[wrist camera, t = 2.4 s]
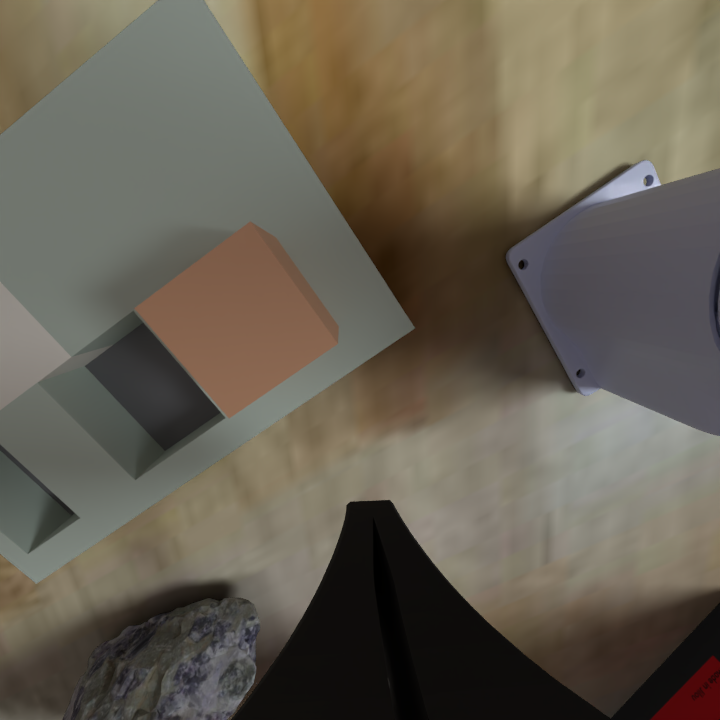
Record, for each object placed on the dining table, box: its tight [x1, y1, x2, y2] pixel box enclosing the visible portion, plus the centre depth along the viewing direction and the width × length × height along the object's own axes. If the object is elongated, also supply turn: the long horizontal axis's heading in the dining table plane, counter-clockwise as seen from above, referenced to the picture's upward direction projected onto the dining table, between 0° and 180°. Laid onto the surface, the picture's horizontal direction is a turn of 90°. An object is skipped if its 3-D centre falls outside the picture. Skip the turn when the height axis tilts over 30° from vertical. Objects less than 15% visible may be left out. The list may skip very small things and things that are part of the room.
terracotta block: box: [134, 222, 339, 418], centre depth 13 cm, size 4×4×4 cm
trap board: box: [0, 0, 415, 584], centre depth 16 cm, size 15×23×3 cm, turn 124°
